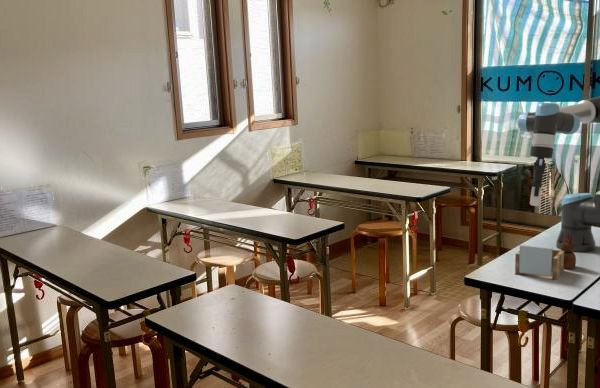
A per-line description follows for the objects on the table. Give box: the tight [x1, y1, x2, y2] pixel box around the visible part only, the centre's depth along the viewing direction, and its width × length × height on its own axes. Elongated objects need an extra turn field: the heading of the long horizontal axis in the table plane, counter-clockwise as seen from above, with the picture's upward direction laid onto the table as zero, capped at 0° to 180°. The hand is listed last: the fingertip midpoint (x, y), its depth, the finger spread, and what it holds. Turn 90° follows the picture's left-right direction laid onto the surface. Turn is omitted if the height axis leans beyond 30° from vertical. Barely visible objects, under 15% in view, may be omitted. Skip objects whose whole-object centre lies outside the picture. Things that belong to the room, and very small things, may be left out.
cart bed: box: [514, 248, 565, 281], centre depth 215 cm, size 13×14×9 cm
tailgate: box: [519, 244, 553, 277], centre depth 210 cm, size 1×11×10 cm, turn 54°
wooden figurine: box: [560, 233, 577, 270], centre depth 219 cm, size 7×6×15 cm
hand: (534, 205), depth 214 cm, fingers open, 13 cm apart
